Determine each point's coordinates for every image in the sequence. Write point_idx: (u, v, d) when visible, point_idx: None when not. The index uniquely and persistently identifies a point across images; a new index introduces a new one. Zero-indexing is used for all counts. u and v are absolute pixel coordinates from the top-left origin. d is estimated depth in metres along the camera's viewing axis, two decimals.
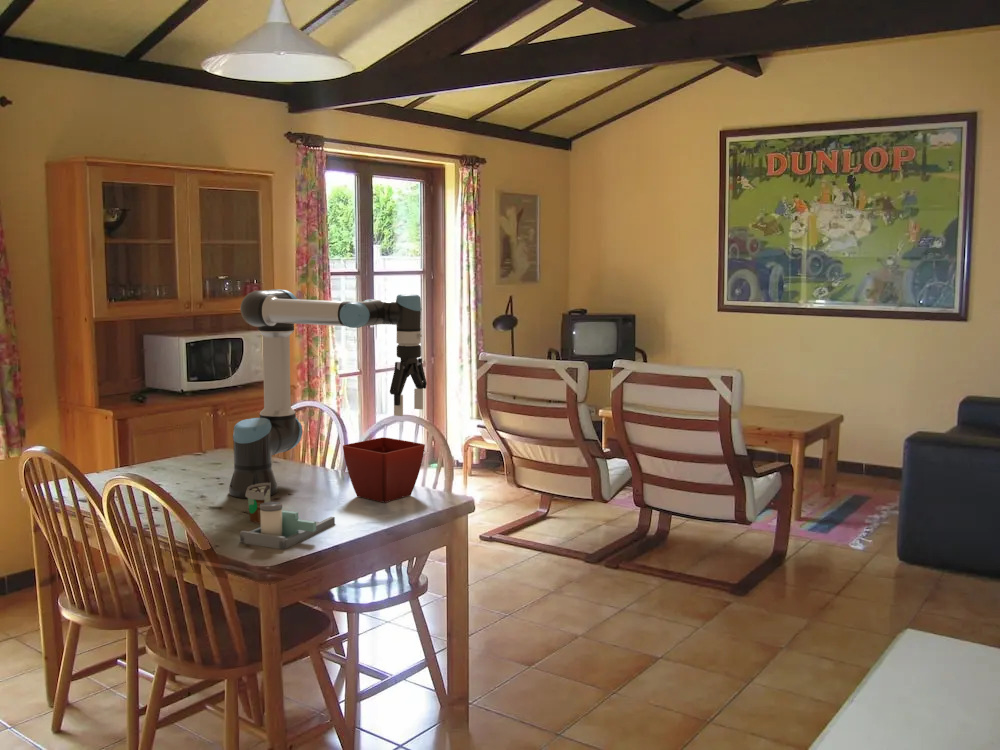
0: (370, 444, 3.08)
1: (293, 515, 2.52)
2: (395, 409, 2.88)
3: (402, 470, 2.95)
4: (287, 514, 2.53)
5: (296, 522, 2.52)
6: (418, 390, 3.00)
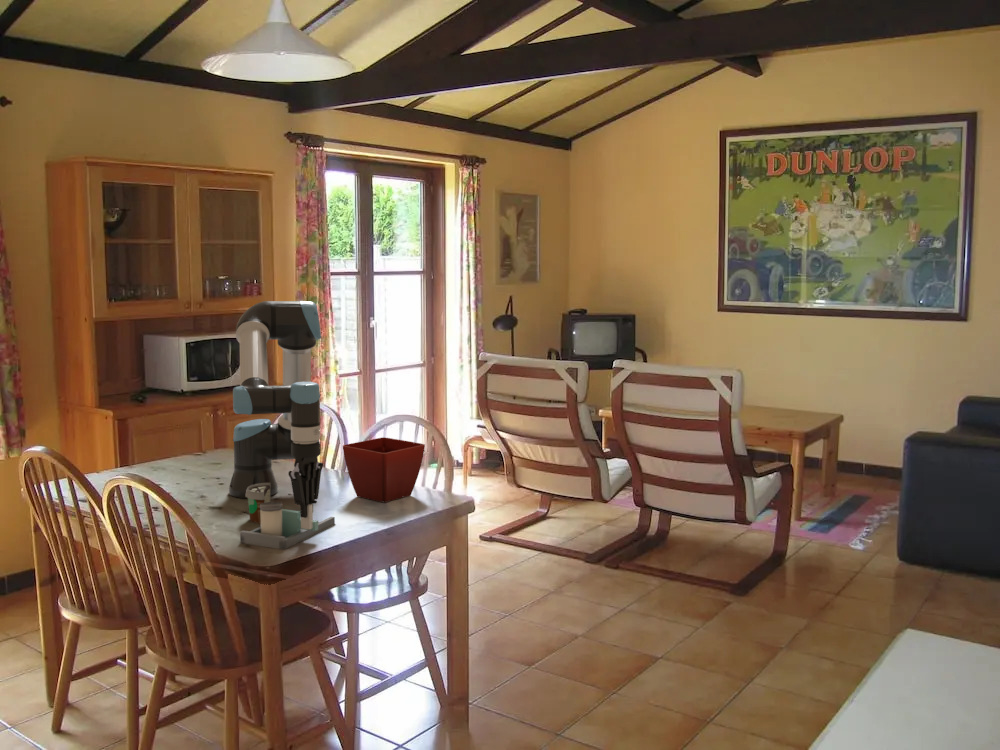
0: (370, 444, 3.08)
1: (295, 514, 2.53)
2: (302, 521, 2.51)
3: (402, 470, 2.95)
4: (289, 513, 2.54)
5: (298, 521, 2.53)
6: None
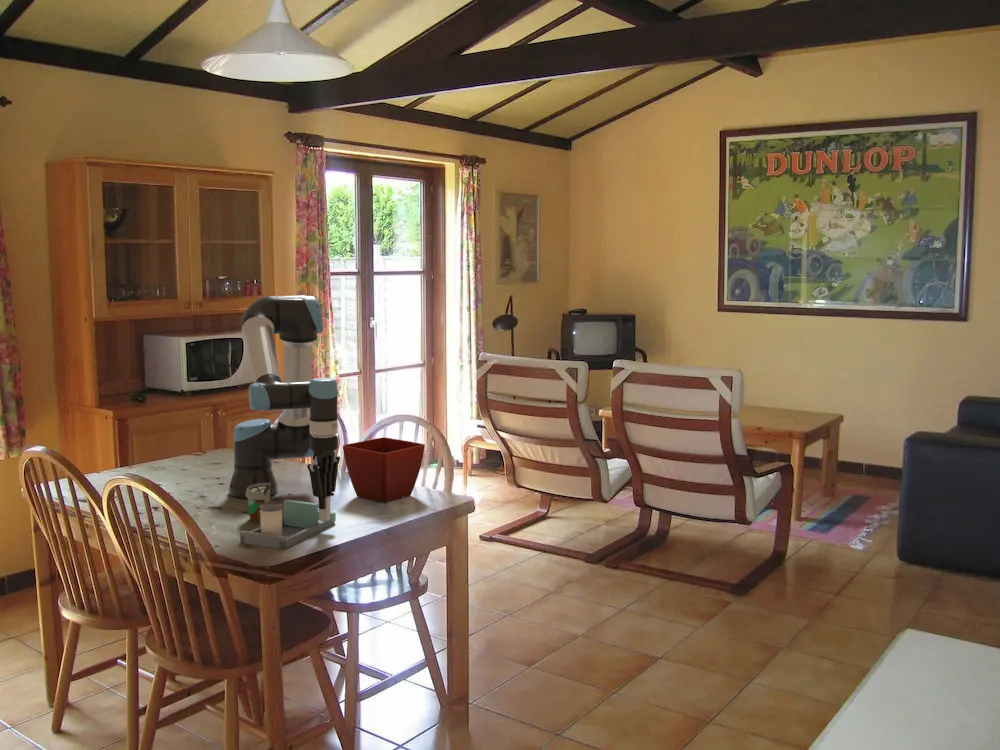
0: (370, 444, 3.08)
1: (313, 506, 2.61)
2: (320, 513, 2.59)
3: (402, 470, 2.95)
4: (308, 505, 2.62)
5: (316, 513, 2.61)
6: None
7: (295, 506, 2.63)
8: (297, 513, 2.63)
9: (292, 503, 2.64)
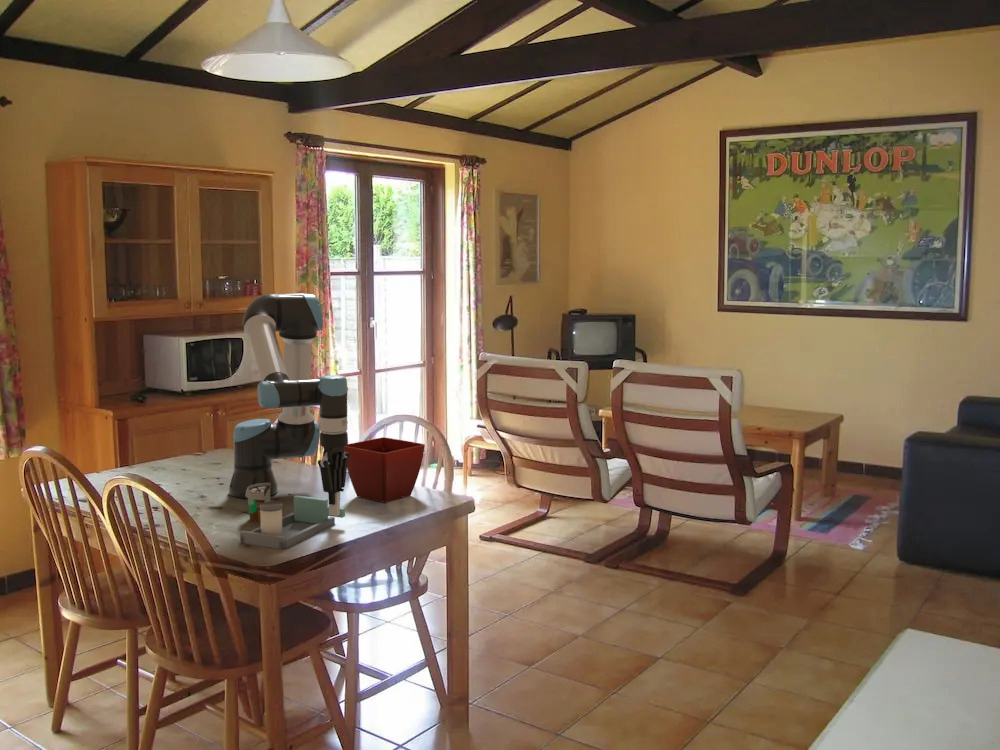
0: (370, 444, 3.08)
1: (323, 502, 2.66)
2: (330, 508, 2.63)
3: (402, 470, 2.95)
4: (318, 501, 2.66)
5: (326, 508, 2.66)
6: None
7: (305, 502, 2.68)
8: (307, 508, 2.68)
9: (302, 499, 2.68)
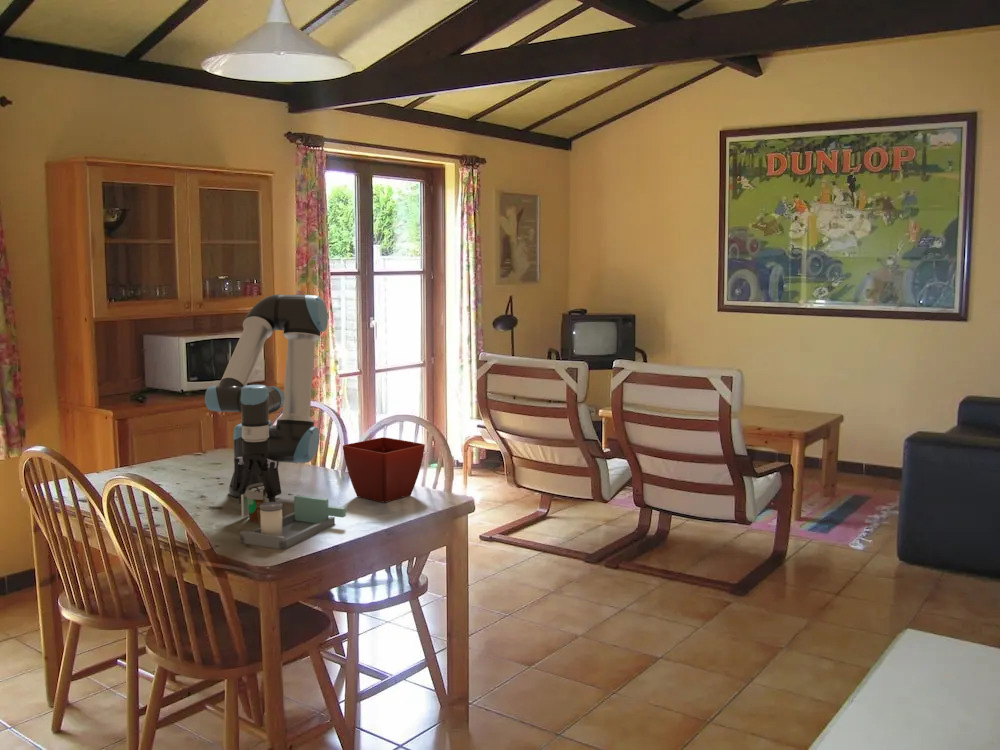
0: (370, 444, 3.08)
1: (323, 502, 2.66)
2: None
3: (402, 470, 2.95)
4: (318, 501, 2.67)
5: (326, 508, 2.66)
6: None
7: (306, 501, 2.68)
8: (307, 508, 2.68)
9: (303, 499, 2.68)
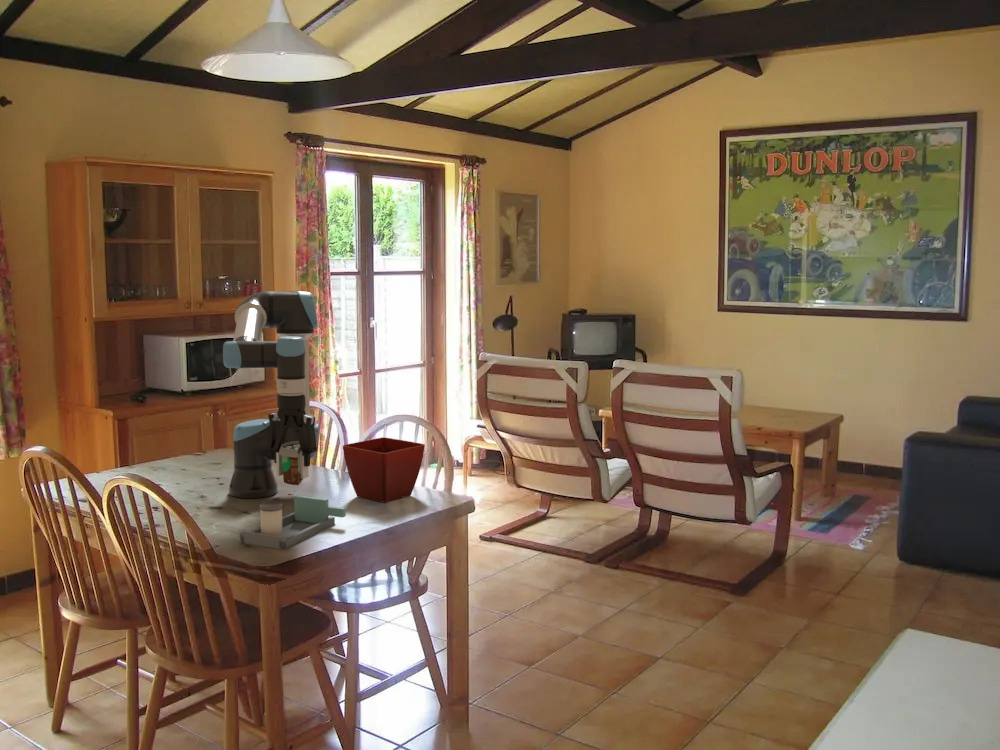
0: (370, 444, 3.08)
1: (323, 502, 2.66)
2: None
3: (402, 470, 2.95)
4: (318, 501, 2.67)
5: (326, 508, 2.66)
6: None
7: (306, 501, 2.68)
8: (307, 508, 2.68)
9: (303, 499, 2.68)
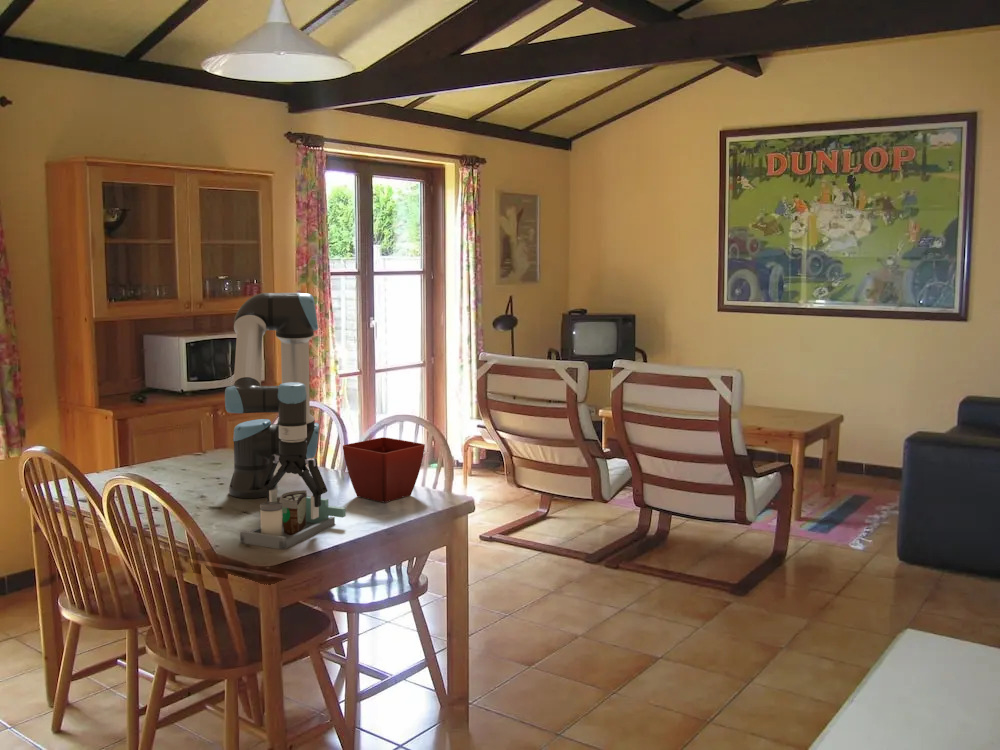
0: (370, 444, 3.08)
1: (323, 502, 2.66)
2: None
3: (402, 470, 2.95)
4: None
5: (326, 508, 2.66)
6: None
7: (306, 501, 2.68)
8: (307, 508, 2.68)
9: None
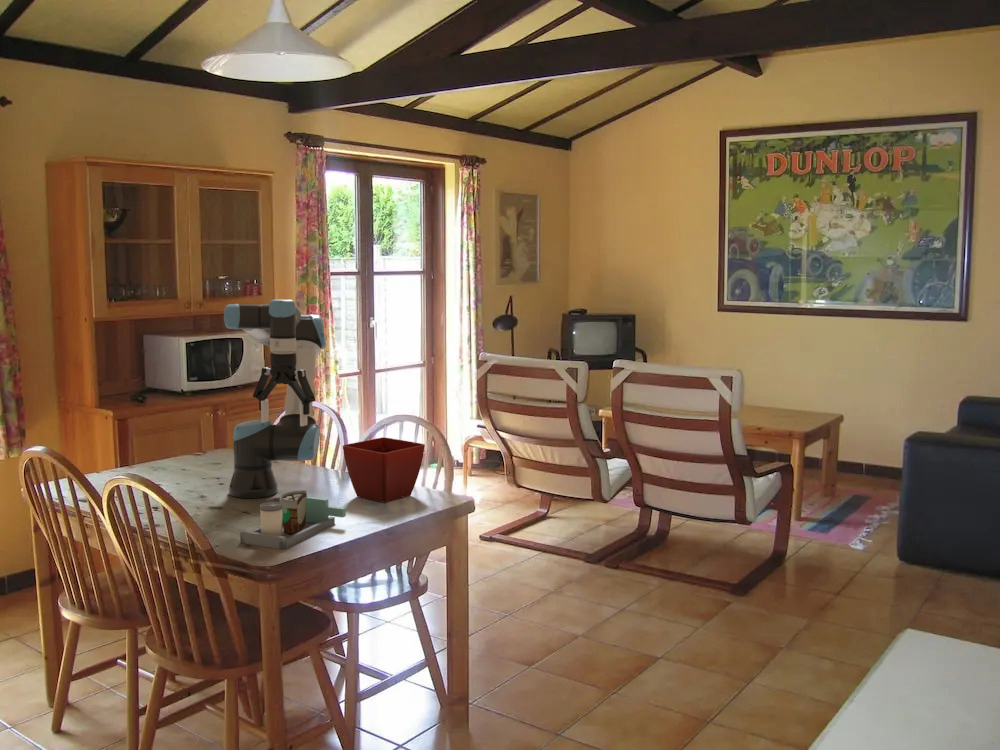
0: (370, 444, 3.08)
1: (323, 502, 2.66)
2: None
3: (402, 470, 2.95)
4: (318, 501, 2.67)
5: (326, 508, 2.66)
6: None
7: (306, 501, 2.68)
8: (307, 508, 2.68)
9: None
